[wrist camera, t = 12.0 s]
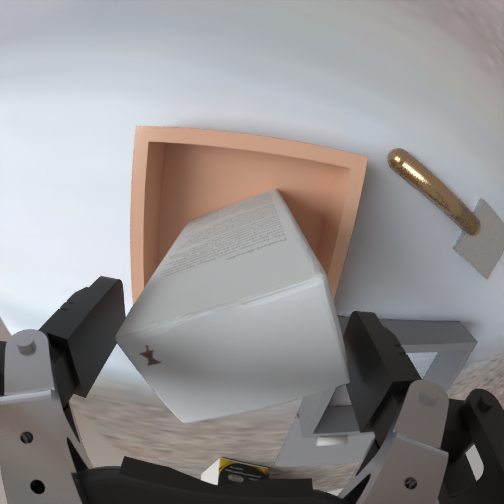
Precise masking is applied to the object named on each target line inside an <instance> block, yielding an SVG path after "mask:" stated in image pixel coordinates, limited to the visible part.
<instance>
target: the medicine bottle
mask: <svg viewBox="0 0 504 504" xmlns="http://www.w3.org/2000/svg"><path fill="white" fill-rule="evenodd" d="M261 479H269V469H268V468H267V467H263V466H258V465H252V464H248V463H243V462H238V461H234V460H230V459H226V458H219V459H218V460H217V461H216V462H215V463H213V464H212V465H211V466H210V467H209V468H208V469H207V470H205V471H204V472H203V473H202V475H201V480H202V481H205V482H208V483H211V484H214V485H225V484H234V483H242V482H249V481H255V480H261Z"/></svg>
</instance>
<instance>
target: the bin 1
mask: <svg viewBox="0 0 504 504" xmlns="http://www.w3.org/2000/svg"><path fill="white" fill-rule="evenodd" d="M367 161H368V157H367V156H363V155H359V154H354V153H350V152H346V151H341V150H337V149H332V148H328V147H323V146H318V145H313V144H308V143H302V142H297V141H291V140H285V139H279V138H273V137H266V136H259V135H252V134H244V133H235V132H226V131H217V130H206V129H194V128H179V127H158V126H136V132H135V142H134V153H133V166H132V183H131V212H130V251H131V280H132V298H133V305H134V303H135V302H136V300H137V299H138V297H139V296H140V294H141V292H142V291H143V289H144V288H145V286H146V285H147V283H148V282H149V280H150V278H151V277H152V275H153V274H154V272H155V271H156V269H157V268H158V266H159V265H160V263H161V262H162V260H163V259H164V257H165V256H166V254H167V253H168V251H169V250H170V248H171V247H172V245H173V244H174V242H175V241H176V239H177V238H178V236H179V235H180V233H181V232H182V230H183V229H184V228H185V226H186V225H187V223H188V222H189V221H190V220H193V219H196V218H198V217H201V216H203V215H206V214H208V213H211V212H213V211H216V210H218V209H221V208H224V207H226V206H229V205H232V204H234V203H237V202H240V201H242V200H245V199H248V198H250V197H253V196H256V195H259V194H262V193H264V192H267V191H270V190H273V189H277V190H278V191H279V192H280V194H281V196H282V197H283V199H284V201H285V203H286V204H287V206H288V208H289V210H290V212H291V213H292V215H293V217H294V219H295V220H296V222H297V224H298V226H299V228H300V229H301V231H302V233H303V235H304V236H305V238H306V240H307V242H308V244H309V245H310V247H311V249H312V251H313V252H314V254H315V256H316V257H317V259H318V261H319V262H320V264H321V266H322V267H323V269H324V271H325V273H326V275H327V277H328V281H329V284H330V288H331V291H332V295H333V299H334V298H335V295H336V292H337V288H338V285H339V281H340V278H341V274H342V271H343V267H344V263H345V259H346V256H347V252H348V248H349V244H350V240H351V236H352V232H353V228H354V223H355V219H356V215H357V210H358V206H359V201H360V196H361V192H362V187H363V182H364V177H365V172H366V166H367Z"/></svg>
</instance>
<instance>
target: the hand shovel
mask: <svg viewBox="0 0 504 504" xmlns="http://www.w3.org/2000/svg"><path fill="white" fill-rule="evenodd" d="M388 164H389V166H390V167H391V168H392V169H393V170H394V171H395V172H397V173H398V174H399V175H400V176H402V177H403V178H404V179H406V180H407V181H408V182H409V183H411V184H412V185H413V186H414V187H416V188H417V189H418V190H419V191H420V192H422V193H423V194H424V195H425V196H426V197H428V198H429V199H430V200H431V201H432V202H433V203H435V204H436V205H437V206H438V207H439V208H440V209H441V210H443V211H444V212H445V213H446V214H447V215H448V216H449V217H450V218H451V219H452V220H453V221H455V222H456V223H457V224H458V225H459V226H460V227H461V228H462V229H463V231H462V233H461V234H460V236H459V238H458V240H457V241H456V243H455V245H454V246H453V249H454V250H455V251H456V252H457V253H458V254H460V255H461V256H462V257H463V258H464V259H465V260H466V261H467V262H468V263H470V264H471V265H472V266H473V267H474V268H475V269H476V270H477V271H478V272H479V273H480V274H481V275H482V276H483V277H485V278H486V279H487V278H488V277H489V275H490V274H491V272H492V270H493V269H494V267H495V265H496V263H497V262H498V260H499V258H500V256H501V255H502V253H503V251H504V224H503V222H502V221H501V220H500V218H499V217H498V216H497V215H496V213H495V212H494V211H493V210H492V209H491V207H490V206H489V205H488V204H487V203H486V201H485V200H483V199H481V198H480V199H479V201H478V203H477V205H476V207H475V209H474V211H473V213H472V212H471V210H470V209H469V208H468V207H467V206H466V205H465V204H464V203H463V202H462V201H461V200H460V199H459V198H458V197H457V196H456V195H455V194H454V193H453V192H452V191H451V190H450V189H449V188H447V187H446V186H445V185H444V184H443V183H442V182H441V181H440V180H439V179H438V178H437V177H436V176H434V175H433V174H432V173H431V172H430V171H429V170H428V169H427V168H425V167H424V166H423V165H422V164H421V163H420V162H418V161H417V160H416V159H415V158H414V157H412V156H411V155H410V154H409V153H408V152H406V151H405V150H403V149H400V148H396V149H393V150H392V151H391V152H390V153H389V155H388Z"/></svg>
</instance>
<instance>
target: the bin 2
mask: <svg viewBox="0 0 504 504" xmlns="http://www.w3.org/2000/svg"><path fill="white" fill-rule="evenodd" d="M349 318H350V317H339V316H338V319H339V323H340V328H341V332H342V337H343V335H344V332H345V329H346V327H347V324H348V321H349ZM379 321H380V322H381V324H382V325H383V327H386V328H387V329H388V330H390V331H391V332H392V333H393V334H394V335H395V336H396V337H397V339H398V340H399V342H400V344H401V347H403V348H404V350H405V352H406V353H418V352H438V354H437V356H436V358H435V359H434V361H433V363H432V365H431V366H430V368H429V370H428V371H427V373H426V375H425V376H424V378H423V380H429V381H432V382H434V383H436V384H438V385H439V386H440V387H442V388H443V389H444V391H445V392H447V391H448V389H449V388H450V386H451V385H452V383H453V382H454V380H455V379H456V377H457V376H458V374H459V372H460V371H461V369H462V368H463V366H464V364H465V363H466V361H467V359H468V358H469V356H470V354H471V352H472V351H473V349H474V347H475V345H476V343H477V341H476V340H475V338H474V337H473V336H472V335H471V334H470V333H469V332H468V331H467V329H466V328H465V327H464V326H463V325H462V324H461V323H460V322H459V321H412V320H388V319H379ZM335 389H336V387H335V388H333V389H330V390H327V391H324V392H321V393H317V394H314V395H310V396H307V397H304V399H303V401H302V403H301V406H300V408H299V411H298V412H299V414H297V415H296V418H295V420H294V422H293V425H292V427H291V429H290V431H289V434H288V436H287V438H286V440H285V442H284V445H283V447H282V449H281V451H280V453H279V455H278V457H277V459H276V461H275V467H304V466H324V465H337V464H347V463H356V462H361V460H362V458H363V456H364V454H365V453H366V451H367V449H368V447H369V445H370V443H371V441H372V440H373V439H374V437H375V434H374V432H365V433H360V430H359V426H358V423H357V420H356V416H355V413H354V410H353V406H331V407H327V405H328V403H329V401H330V399H331V397H332V395H333V393H334V391H335Z"/></svg>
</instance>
